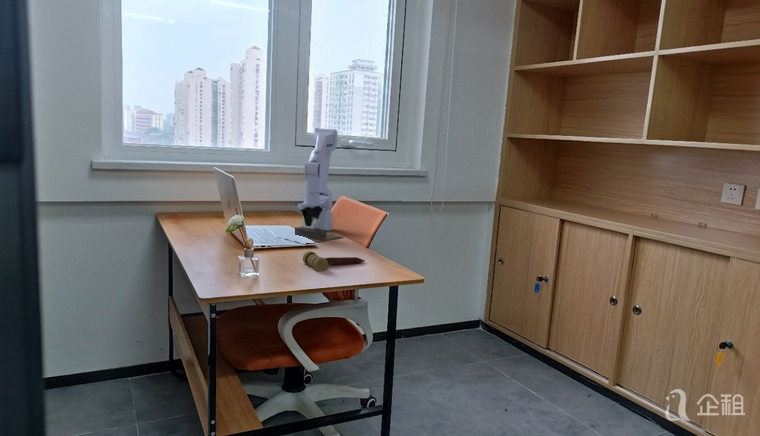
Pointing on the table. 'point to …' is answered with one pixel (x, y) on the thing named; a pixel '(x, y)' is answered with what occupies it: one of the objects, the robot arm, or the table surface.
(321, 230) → the slot board
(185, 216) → the table surface
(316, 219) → the steel bracket
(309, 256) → the gavel
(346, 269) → the table surface
